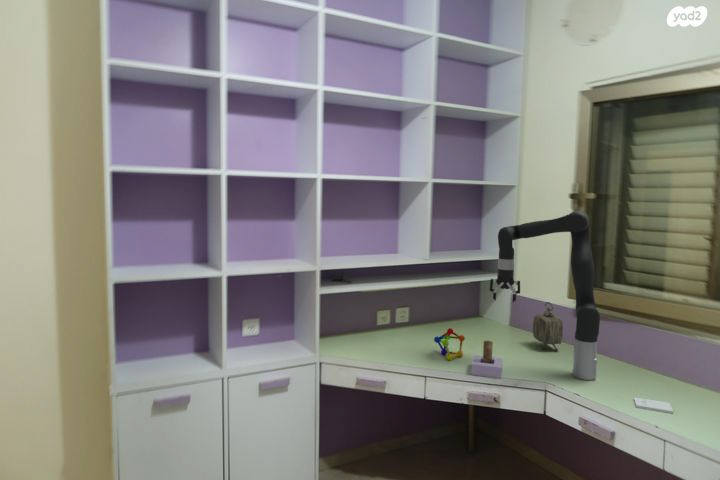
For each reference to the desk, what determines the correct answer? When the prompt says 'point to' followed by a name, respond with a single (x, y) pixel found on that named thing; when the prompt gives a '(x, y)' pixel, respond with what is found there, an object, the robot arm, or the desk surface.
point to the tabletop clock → (548, 328)
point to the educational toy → (445, 343)
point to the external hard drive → (653, 405)
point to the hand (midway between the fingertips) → (504, 300)
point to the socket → (486, 367)
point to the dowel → (487, 352)
